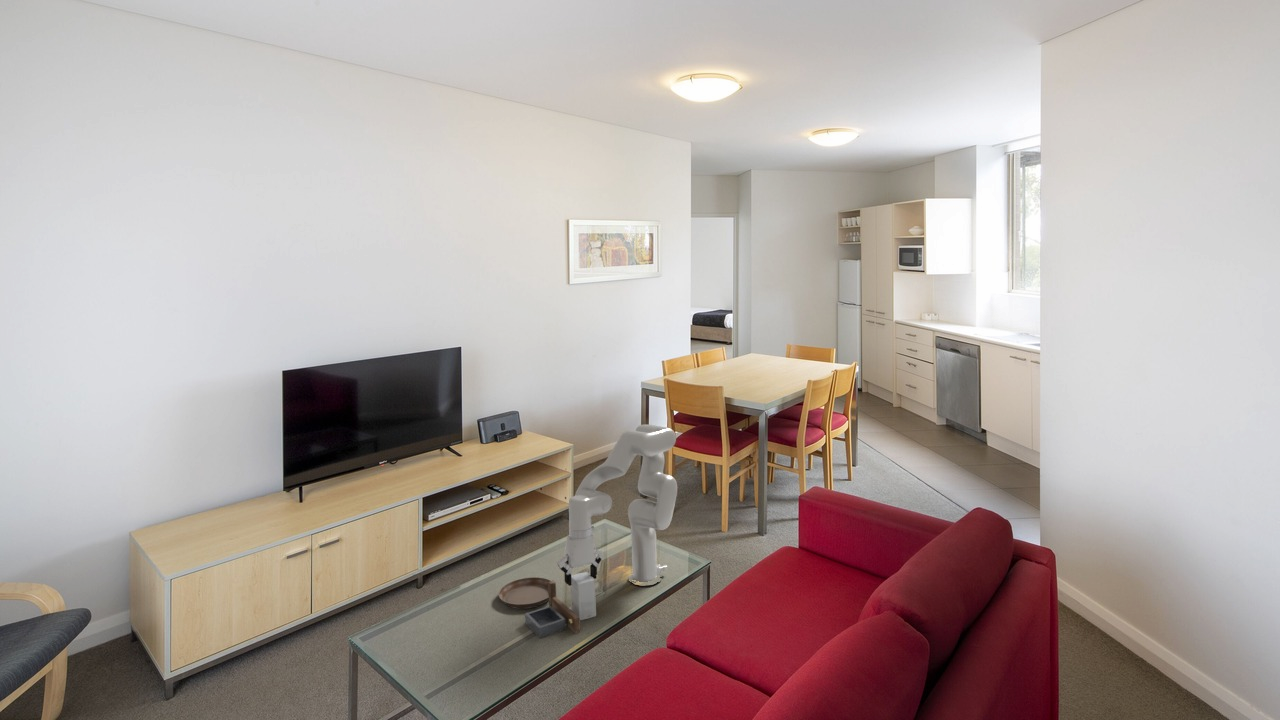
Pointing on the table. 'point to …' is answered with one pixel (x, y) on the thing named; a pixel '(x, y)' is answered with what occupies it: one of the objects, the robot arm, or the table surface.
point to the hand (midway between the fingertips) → (581, 580)
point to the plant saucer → (525, 593)
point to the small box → (583, 595)
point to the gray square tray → (545, 621)
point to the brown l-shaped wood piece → (563, 608)
